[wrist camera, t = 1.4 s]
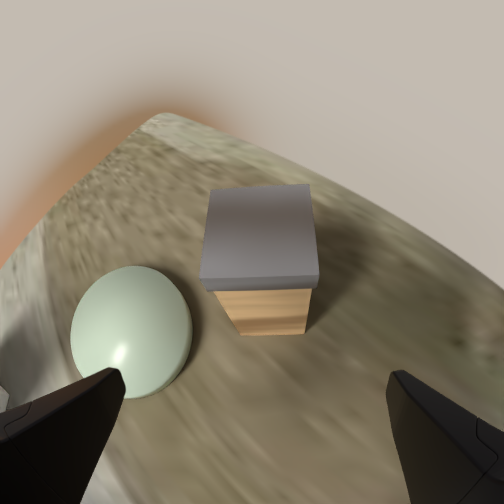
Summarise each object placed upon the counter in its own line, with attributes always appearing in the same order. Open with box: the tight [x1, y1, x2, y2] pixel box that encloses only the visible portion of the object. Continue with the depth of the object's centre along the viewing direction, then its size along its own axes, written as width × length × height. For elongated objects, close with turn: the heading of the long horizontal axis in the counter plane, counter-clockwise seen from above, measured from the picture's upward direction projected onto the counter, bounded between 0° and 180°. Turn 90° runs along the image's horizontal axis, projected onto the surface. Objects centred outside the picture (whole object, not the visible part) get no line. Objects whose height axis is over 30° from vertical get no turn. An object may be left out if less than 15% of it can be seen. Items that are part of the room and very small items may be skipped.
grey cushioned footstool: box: [199, 184, 319, 335], centre depth 19 cm, size 5×5×11 cm
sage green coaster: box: [71, 266, 193, 399], centre depth 23 cm, size 12×12×2 cm
